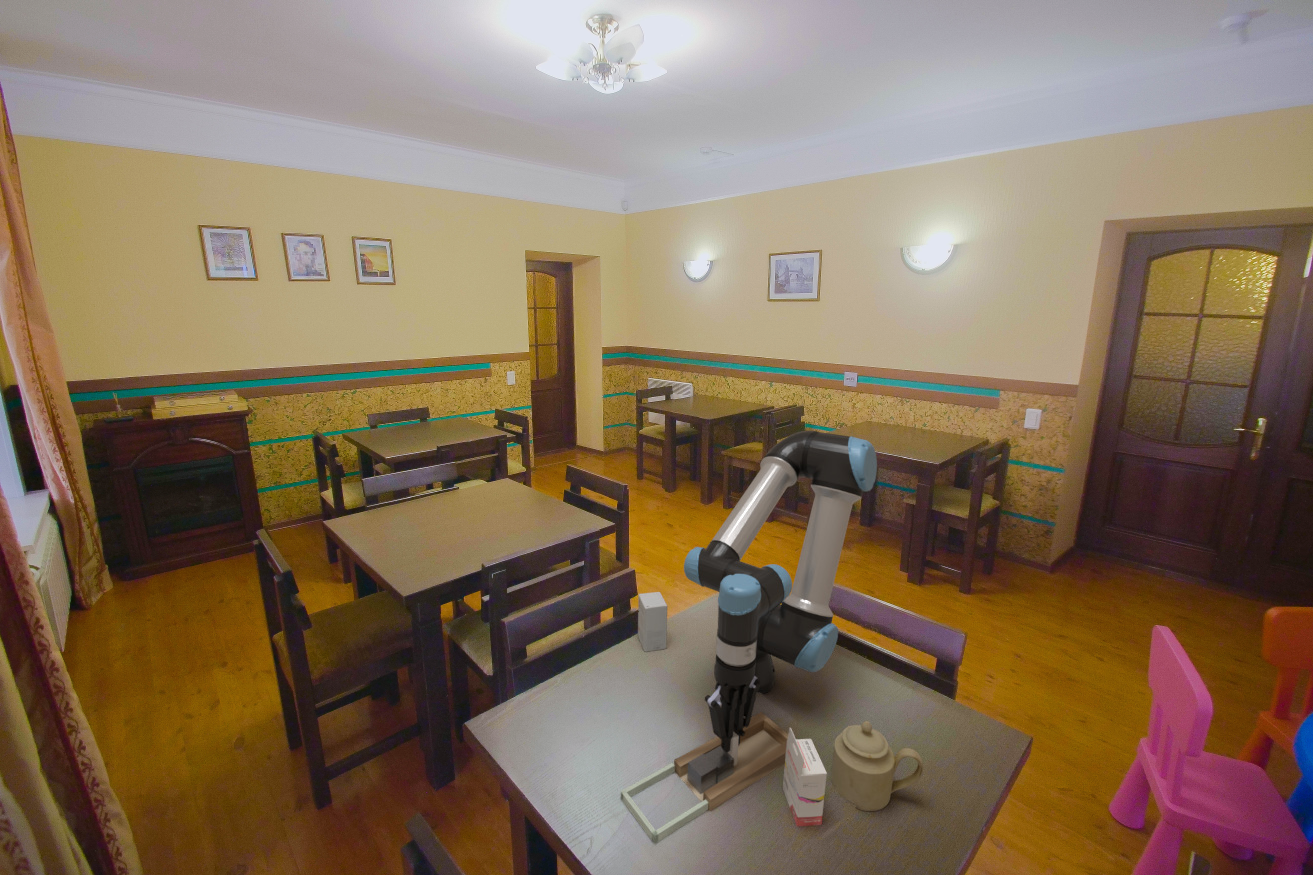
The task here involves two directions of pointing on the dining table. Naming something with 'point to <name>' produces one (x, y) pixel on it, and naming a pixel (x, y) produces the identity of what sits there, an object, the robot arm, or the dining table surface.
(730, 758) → the chip
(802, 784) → the ink cartridge box
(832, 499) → the robot arm
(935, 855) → the dining table surface
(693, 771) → the chip
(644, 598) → the small box
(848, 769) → the sugar bowl
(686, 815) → the tray
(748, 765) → the slot board
